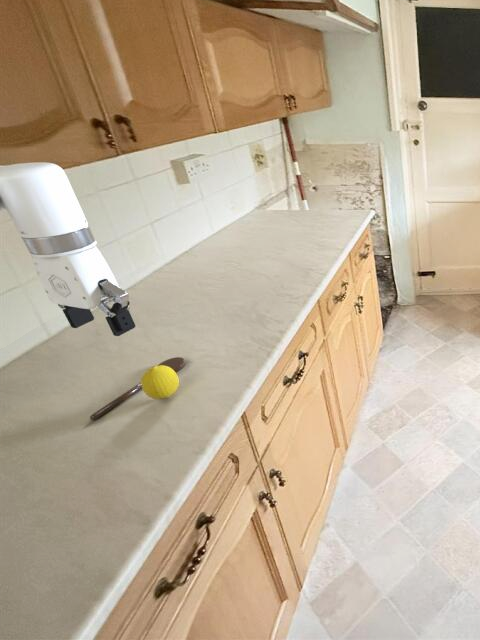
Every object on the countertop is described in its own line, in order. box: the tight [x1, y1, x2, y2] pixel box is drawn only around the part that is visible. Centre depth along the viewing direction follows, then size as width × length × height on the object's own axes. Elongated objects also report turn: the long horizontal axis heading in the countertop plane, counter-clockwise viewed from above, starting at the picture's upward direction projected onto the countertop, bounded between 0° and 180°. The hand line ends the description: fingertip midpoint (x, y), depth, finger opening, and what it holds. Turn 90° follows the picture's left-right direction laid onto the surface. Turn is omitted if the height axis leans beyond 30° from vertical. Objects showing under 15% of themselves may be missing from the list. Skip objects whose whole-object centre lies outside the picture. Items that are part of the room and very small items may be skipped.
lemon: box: [140, 365, 180, 400], centre depth 81 cm, size 6×6×8 cm
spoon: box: [89, 356, 186, 421], centre depth 84 cm, size 18×5×1 cm, turn 167°
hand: (104, 327), depth 72 cm, fingers open, 9 cm apart
